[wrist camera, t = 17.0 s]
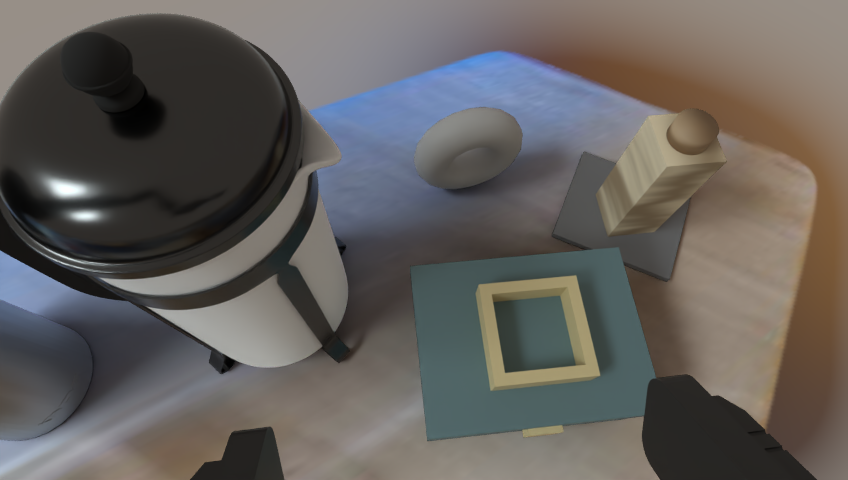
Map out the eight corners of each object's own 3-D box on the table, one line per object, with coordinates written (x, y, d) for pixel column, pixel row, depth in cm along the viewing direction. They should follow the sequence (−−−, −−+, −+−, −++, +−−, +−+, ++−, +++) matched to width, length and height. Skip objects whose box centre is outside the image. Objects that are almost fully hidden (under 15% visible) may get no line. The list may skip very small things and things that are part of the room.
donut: (418, 206, 49) (420, 145, 40) (409, 176, 50) (409, 111, 41) (516, 183, 50) (540, 119, 41) (505, 154, 51) (525, 87, 42)
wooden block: (607, 236, 47) (677, 154, 35) (595, 194, 49) (657, 102, 37) (654, 232, 47) (739, 149, 35) (640, 190, 49) (716, 97, 37)
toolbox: (425, 450, 40) (429, 445, 32) (410, 294, 45) (410, 255, 37) (628, 427, 41) (682, 416, 33) (590, 277, 46) (628, 236, 38)
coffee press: (286, 191, 49) (130, -158, 22) (403, 303, 45) (392, 43, 17) (130, 316, 44) (-340, 61, 16) (245, 456, 39) (-130, 429, 12)
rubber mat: (551, 236, 48) (553, 233, 47) (581, 154, 52) (583, 151, 51) (666, 281, 46) (669, 279, 46) (689, 194, 50) (692, 191, 49)
